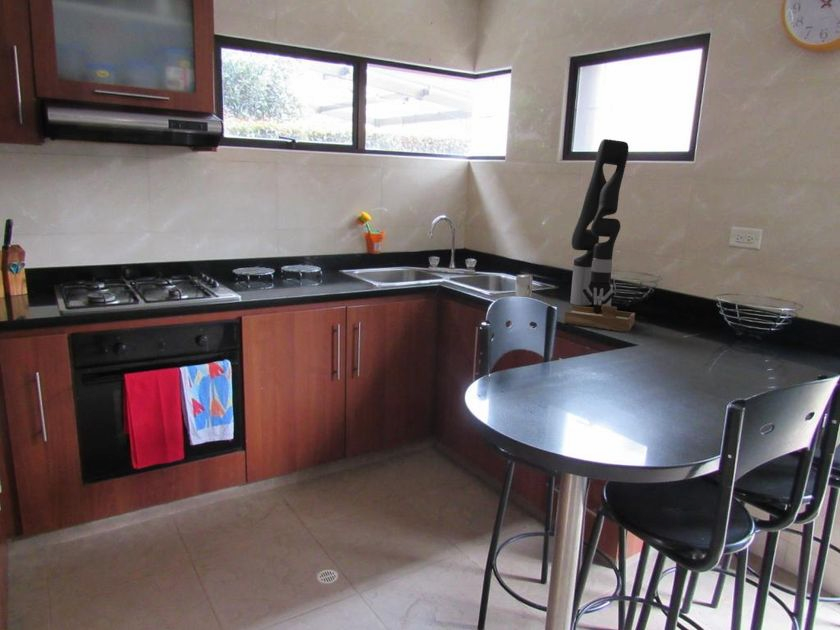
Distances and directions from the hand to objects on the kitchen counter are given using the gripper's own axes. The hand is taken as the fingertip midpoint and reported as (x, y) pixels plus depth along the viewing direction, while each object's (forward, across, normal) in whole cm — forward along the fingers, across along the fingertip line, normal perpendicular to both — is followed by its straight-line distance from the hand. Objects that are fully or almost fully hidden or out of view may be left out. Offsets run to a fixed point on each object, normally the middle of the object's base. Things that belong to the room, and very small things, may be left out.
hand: (596, 313), depth 241 cm
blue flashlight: (+4, +31, -2) cm, 31 cm away
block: (+1, -5, 0) cm, 5 cm away
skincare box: (+3, +1, -17) cm, 17 cm away
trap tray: (+3, -2, +3) cm, 5 cm away
